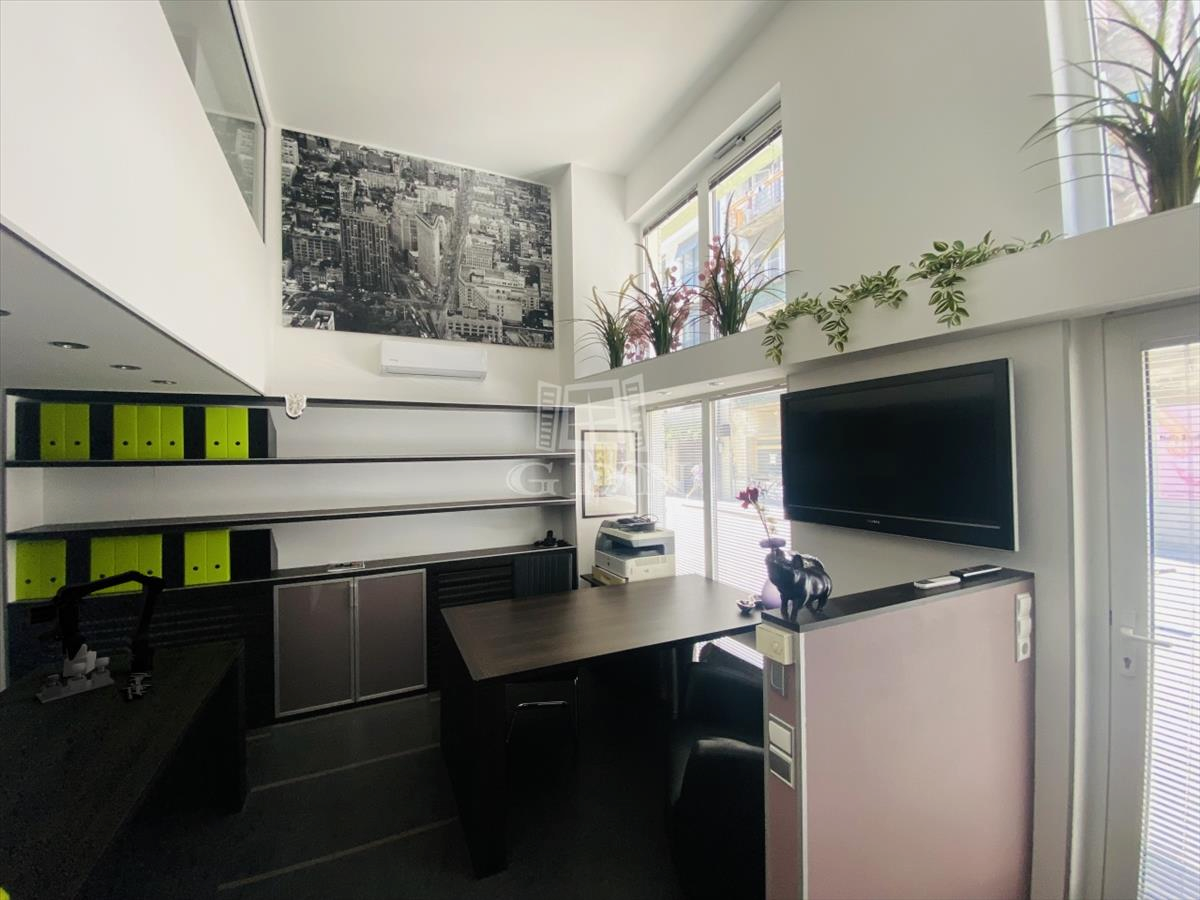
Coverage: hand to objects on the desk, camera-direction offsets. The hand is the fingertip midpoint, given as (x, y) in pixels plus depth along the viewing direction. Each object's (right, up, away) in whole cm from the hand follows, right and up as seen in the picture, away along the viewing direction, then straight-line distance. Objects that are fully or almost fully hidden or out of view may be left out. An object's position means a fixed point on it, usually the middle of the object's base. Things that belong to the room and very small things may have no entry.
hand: (68, 657), depth 181 cm
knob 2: (+6, -10, +7) cm, 13 cm away
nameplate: (+23, -15, +4) cm, 27 cm away
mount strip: (+2, -13, +1) cm, 13 cm away
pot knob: (-1, -9, -4) cm, 10 cm away
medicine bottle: (-12, -13, +15) cm, 23 cm away
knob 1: (+2, -9, +1) cm, 10 cm away
